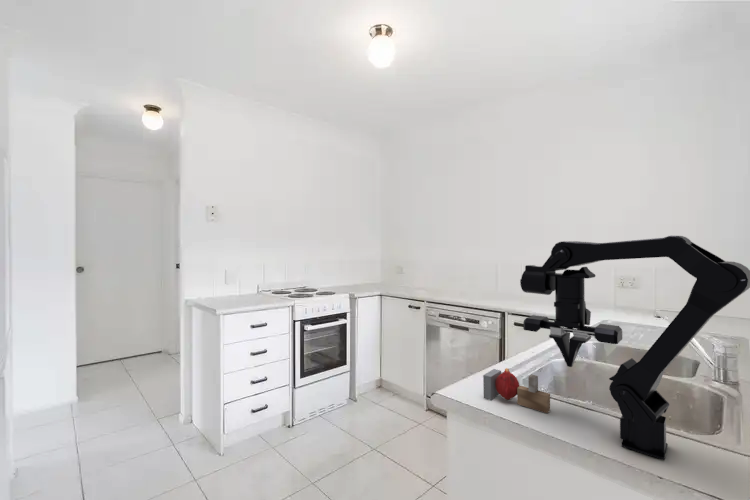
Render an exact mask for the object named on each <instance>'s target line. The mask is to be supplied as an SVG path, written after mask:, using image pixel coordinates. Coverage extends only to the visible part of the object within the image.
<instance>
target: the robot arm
mask: <svg viewBox="0 0 750 500" xmlns="http://www.w3.org/2000/svg"><path fill="white" fill-rule="evenodd" d="M652 258H653V259H654V258H669V259H671V260H672V261H673V262H674V263H676V265H678V266H679V267H680V268H682V270H684V271H686V272H687V274H689V275H691V276H692V277H694V278H695V279H696V280H695V282H694V283H693V285H692V288H691V290H690V293H689V296H688V299H687V301H686V303H685V305H684V306H683V308H682V309H680V311H679V313H678V314H677V315H676V316H675V317H674V318H673V320H672V321H671V322H670V323H669V325H668V326H667V327H666V328H665V329H664V330H663V332H662V333H660V335H659V337H658V338H657V339H656V340H655V342H653V344H652V345H651V346H650V347H649V348H648V350H647V351H646V352H645V353H644V355H643V356H642V357H641V359H639V361H638V362H637V361H636V360H635V359H634V358H630V359H628V360H627V361H625V362H623V363H621V364H620V365H619V367H618V369H617V371H616V372H615V374H614V375H612V376H611V377H609V378H608V379H609V381H611V382H610V384H609V387H608V389H609V393H610V395H611V397H612V398H613V400H614V401H615V403H617V406H618V407H619V410H620V412H621V415H620V419H619V429H620V430H619V438H620V439H621V440H622V442H621V444H620V445H621V447H623V448H624V449H625V448H626V449H629V450H632V451H634V452H638V453H641V454H644V455H647V456H650V457H653V458H656V459H660V460H665V459H666V456H667V455H666V454H667V450H668V447H669V444H668V443H667V417H666V416H663V414H666V412H667V411H668V409H669V407H670V403H669V402H668V400H666V399H665V398H664V397H663V395H661V394H660V392H659V391H658V390H657V389H658V387H659V385H660V383H661V381H662V378H663V376H664V373H665V371H666V370H667V368H669V366H671V364H672V363H673V362H674V360H676V359H677V358H678V356H679V355H680V354H681V353H682V351H683V350H684V349H685V348H686V347H687V346H688V344H689V343H690V342H691V341H693V339H694V338H695V337H696V336H697V334H698V333H699V332H700V331H701V330H702V329H703V328H704V326H705V325H706V324H707V323H708V322H709V321H710V319H712V317H713V316H714V315H716V314H717V313H718V312H720V310H722V309H723V308H726V306H728V305H730V304H731V303H732V302H734V300H736V299H737V298H738V297H740V296H741V295H742V294H744V293H745V292H746V291H747V290H749V289H750V268H748V267H747V266H745V265H744V264H742V263H740V262H735V261H728V260H724V259H722V258H721V257H719V256H717V255H716V254H714V253H712V252H710V251H709V250H707V249H705V248H703V247H701V246H700V245H698V244H696V243H694V242H693V241H692V240H690V238H688V237H687V236H683V235H668V236H665V237H658V238H657V237H655V238H646V239H644V238H643V239H636V240H621V241H609V242H592V241H590V242H589V241H575V240H574V241H572V240H571V241H568V240H567V241H565V240H564V241H559V242H557V243H555V244H554V245H553V247H552V248H551V251H550V255H549V257H548V258H547V260H546V261H545V262H544V263H543V265H542V266H538V265H535V264H533V265H531V264H529V265H525V266H524V267H525V268H524V271H523V273H522V275H521V278H520V279H519V281H520V282H519V283H520V284H519V285H520V288H521V290H522V292H523V293H527V294H528V293H529V294H537V295H546V296H549V295H551V294H552V293H553V292H554V294H555V297H554V298H555V301H554V302H553V307H554V308H555V309H554V310H555V319H554V321H553V320H552V321H550V320H549V317H548V316H542V315H536V314H533V315H530V316H527V317H526V318H525V319H524V320H523V323H522V324H523V326H522V327H523V328H522V330H524V331H527V332H533V333H534V332H535V333H536V332H538V331H539V330H541V329H545V330H549V331H550V334H548V338H550V339H553V341H554V342H555V344H556V346H557V347H558V349H559V350H560V353H561V355H562V357H563V360H564V362H565V364H566V366H567V367H568V368H569V367H570V368H572V367H573V366H574V364H575V361H576V359H577V357H578V353H579V352H580V349H581V347H582V345H583V344H586V343H587V342H588V341H590V340H591V338H592V336H593V337H594V339H595V340H596V341H597V342H598V343H605V344H610V345H618V344H619V343H620V342H621V341H622V340H623V329H622V327H620V325H615V324H607V323H605V324H604V323H600V324H598V325H597V326H590V325H591V315H592V311H590V309H588V308H587V306H586V301H585V279H593V278H595V277H596V274H595V273H594V272H592V270H590V269H589V268H588V267H587V266H585V265H589V264H594V263H597V262H603V261H613V260H614V261H615V260H616V261H617V260H631V259H633V260H634V259H635V260H636V259H652ZM579 266H582V267H580V268H579V269H569V268H571V267H572V268H573V267H579ZM563 270H564V271H563ZM557 271H563V272H562V273H561V272H560V273H558V272H557ZM571 333H572V335H573V336H571Z"/></svg>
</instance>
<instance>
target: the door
mask: <svg viewBox="0 0 750 500" xmlns="http://www.w3.org/2000/svg"><path fill="white" fill-rule="evenodd" d="M516 396H517V397H516V398H517V399H516V400H517V401H516V403H517V405H519V406H522V407H525V408H529V409H532V410H536V411H538V412H542V413H544V414H548V413H550V411H551V393H549V392H545V391H542V390H539V375H536V374H530V375H529V376H528V387H526V386H523V385H520V386H519V387H518V388H517V395H516Z"/></svg>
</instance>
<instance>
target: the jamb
mask: <svg viewBox="0 0 750 500" xmlns="http://www.w3.org/2000/svg"><path fill="white" fill-rule="evenodd" d="M501 373H502V370H500V369H495V368H493V369H491V370H490V371H488V372H486V373H484V374H483V375H482V376H483V379H482V380H483V383H482V384H483V399H485V400H488V401H493V400H494V399H496V397H498V396H500V394H499V393H498V392H497V390H496V386H495V381H496V378H497V377H498V376H499V375H500V374H501Z"/></svg>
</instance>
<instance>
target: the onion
mask: <svg viewBox="0 0 750 500" xmlns="http://www.w3.org/2000/svg"><path fill="white" fill-rule="evenodd" d="M495 386H496V390H497V392H498V393H499V396H500V397H502V398H503V399H504V400H506V401H509V400H512V399H513V398H515V397H516V396H517V388H518V387H519V386H521V385H520V382H519V380H518V378H517V377H516V375H515V374H514V373H512V372H510V369H509V368H507V367H506V368H505V369H504V371H503V372H501V374H500V375H499V376H498V377H497V378H496V381H495Z"/></svg>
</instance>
